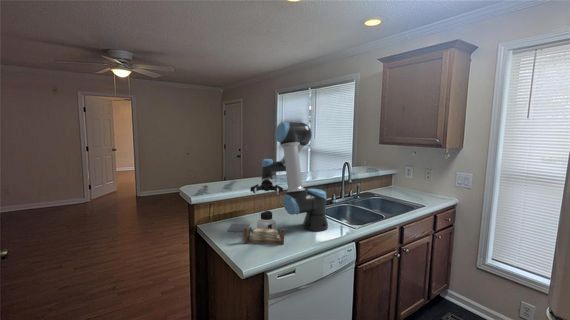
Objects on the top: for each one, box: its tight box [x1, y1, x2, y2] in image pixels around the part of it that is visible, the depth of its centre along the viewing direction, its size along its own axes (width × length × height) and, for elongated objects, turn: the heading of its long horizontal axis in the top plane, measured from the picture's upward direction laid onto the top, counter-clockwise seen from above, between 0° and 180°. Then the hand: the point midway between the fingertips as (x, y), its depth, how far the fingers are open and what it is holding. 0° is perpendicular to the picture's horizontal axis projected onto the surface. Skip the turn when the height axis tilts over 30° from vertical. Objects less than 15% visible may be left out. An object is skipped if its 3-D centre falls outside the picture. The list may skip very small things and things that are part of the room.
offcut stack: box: [249, 227, 280, 241], centre depth 141 cm, size 16×5×4 cm, turn 88°
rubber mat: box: [227, 223, 251, 233], centre depth 158 cm, size 11×11×1 cm
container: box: [256, 210, 277, 230], centre depth 150 cm, size 8×8×13 cm
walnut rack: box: [243, 226, 285, 246], centre depth 146 cm, size 21×17×8 cm
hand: (266, 193), depth 158 cm, fingers open, 13 cm apart
